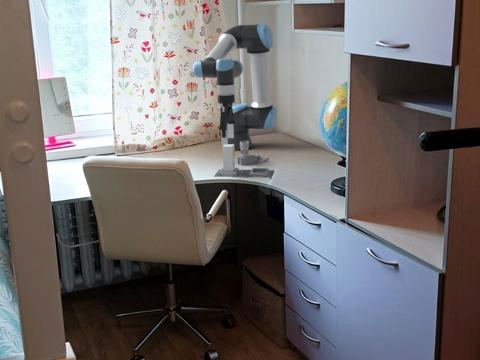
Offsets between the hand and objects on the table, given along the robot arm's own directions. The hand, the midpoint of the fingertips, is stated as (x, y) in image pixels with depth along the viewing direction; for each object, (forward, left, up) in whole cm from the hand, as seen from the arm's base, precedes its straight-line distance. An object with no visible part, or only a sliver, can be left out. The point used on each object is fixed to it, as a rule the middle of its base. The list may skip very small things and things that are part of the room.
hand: (227, 141), depth 289 cm
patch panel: (0, +7, -16) cm, 18 cm away
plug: (0, 0, -15) cm, 15 cm away
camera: (-21, +7, -16) cm, 27 cm away
